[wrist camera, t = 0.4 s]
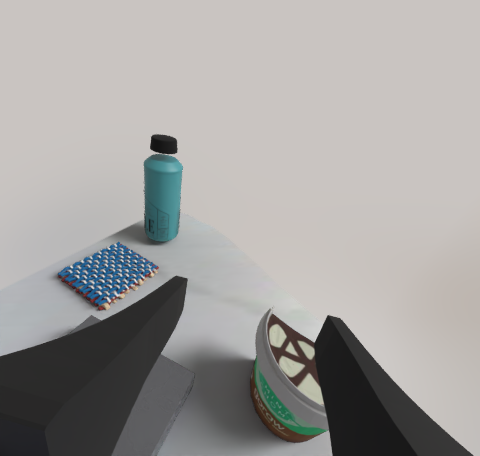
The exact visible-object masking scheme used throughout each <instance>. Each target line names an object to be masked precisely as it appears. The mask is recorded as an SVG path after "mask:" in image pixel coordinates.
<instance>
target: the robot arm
mask: <svg viewBox="0 0 480 456" xmlns="http://www.w3.org/2000/svg"><path fill="white" fill-rule="evenodd" d="M187 280H188V279H187V278H183V277H179V276H175V277H173V278H172V279H170V280H169V281H168V282H166V283H165V284H163V285H162V286H160V287H159V288H158V289H156V290H155V291H153V292H152V293H150V294H149V295H147V296H145V297H144V298H142V299H141V300H139V301H137V302H136V303H134V304H132V305H131V306H129V307H127V308H126V309H124V310H122V311H120V312H118V313H116V314H114V315H112V316H110V317H108V318H106V319H104V320H102V321H100V322H98V323H96V324H93V325H91V326H88V327H86V328H84V329H81V330H79V331H77V332H74V333H72V334H69V335H66V336H63V337H61V338H58V339H55V340H52V341H49V342H46V343H43V344H40V345H37V346H34V347H31V348H27V349H24V350H21V351H17V352H14V353H10V354H7V355H3V356H0V456H112V453H113V451H114V449H115V446H116V444H117V442H118V440H119V437H120V435H121V433H122V431H123V428H124V426H125V424H126V422H127V420H128V417H129V415H130V413H131V411H132V408H133V406H134V404H135V402H136V400H137V398H138V396H139V393H140V391H141V389H142V387H143V385H144V383H145V381H146V379H147V377H148V375H149V373H150V371H151V369H152V368H153V366H154V364H155V363H156V361H157V359H158V357H159V356H160V354H161V352H162V350H163V349H164V347H165V345H166V343H167V342H168V340H169V338H170V336H171V335H172V333H173V331H174V329H175V327H176V325H177V323H178V321H179V318H180V316H181V314H182V311H183V307H184V300H185V294H186V287H187ZM314 352H315V363H316V369H317V374H318V379H319V384H320V388H321V393H322V398H323V402H324V407H325V411H326V416H327V421H328V426H329V432H330V439H331V446H332V454H333V456H473V455H472V454H471V453H470V452H469V451H467V450H466V449H465V448H464V447H463V446H462V445H460V444H459V443H458V442H457V441H456V440H455V439H453V438H452V437H451V436H450V435H449V434H448V433H447V432H446V431H445V430H443V429H442V428H441V427H440V426H439V425H438V424H437V423H436V422H435V421H433V420H432V419H431V418H430V417H429V416H428V415H427V414H426V413H425V412H424V411H423V410H422V409H421V408H420V407H419V406H418V405H417V404H416V403H415V402H414V401H413V400H412V399H411V398H409V397H408V396H407V395H406V394H405V392H404V391H403V390H402V389H401V388H400V387H399V386H398V385H397V384H396V383H395V382H394V381H393V380H392V379H391V378H390V376H389V375H388V374H387V373H386V372H385V371H384V370H383V369H382V368H381V366H380V365H379V364H378V363H377V362H376V361H375V360H374V358H373V357H372V356H371V355H370V354H369V352H368V351H367V350H366V349H365V348H364V346H363V345H362V344H361V343H360V342H359V340H358V339H357V338H356V337H355V335H354V334H353V333H352V332H351V330H350V329H349V328H348V327H347V326H346V324H345V323H344V322H343V321H342V320H341V319H340V318H337V317H333V316H329V315H328V316H327V318H326V320H325V322H324V324H323V327H322V329H321V331H320V333H319V335H318V337H317V339H316V341H315V343H314Z"/></svg>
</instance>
